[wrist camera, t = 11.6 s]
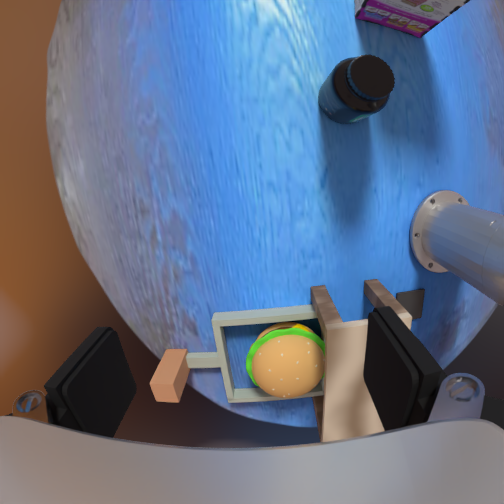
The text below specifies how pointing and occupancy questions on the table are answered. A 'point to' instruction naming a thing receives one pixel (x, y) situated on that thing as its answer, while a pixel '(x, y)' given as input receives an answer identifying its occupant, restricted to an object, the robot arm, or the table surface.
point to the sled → (224, 357)
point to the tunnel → (348, 366)
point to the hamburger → (286, 360)
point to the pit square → (412, 302)
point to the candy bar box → (407, 13)
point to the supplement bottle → (356, 89)
